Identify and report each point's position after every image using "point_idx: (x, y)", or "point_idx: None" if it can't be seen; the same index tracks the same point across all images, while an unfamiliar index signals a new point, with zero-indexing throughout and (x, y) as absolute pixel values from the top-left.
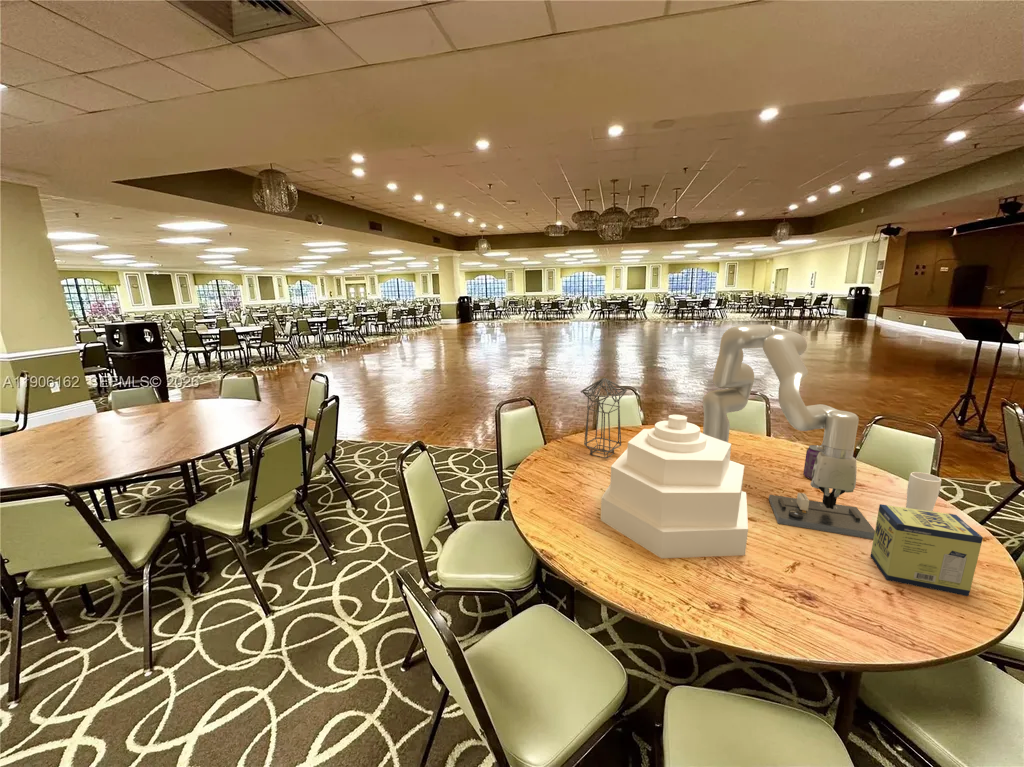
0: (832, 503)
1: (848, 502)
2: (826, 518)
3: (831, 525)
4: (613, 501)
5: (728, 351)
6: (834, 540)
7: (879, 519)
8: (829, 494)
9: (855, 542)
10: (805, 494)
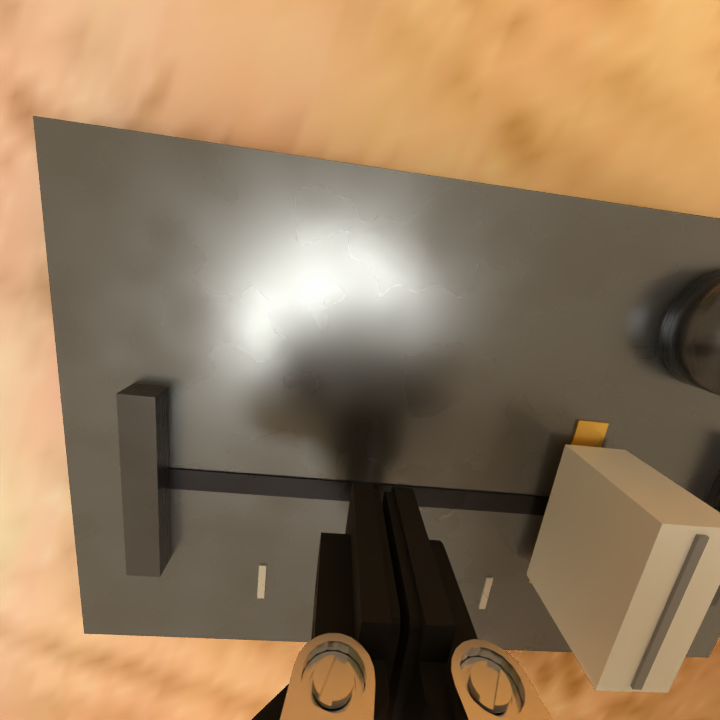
0: (372, 532)
1: (120, 712)
2: (443, 348)
3: (463, 199)
4: None
5: None
6: (484, 26)
7: None
8: (457, 683)
9: (300, 34)
10: (605, 669)
